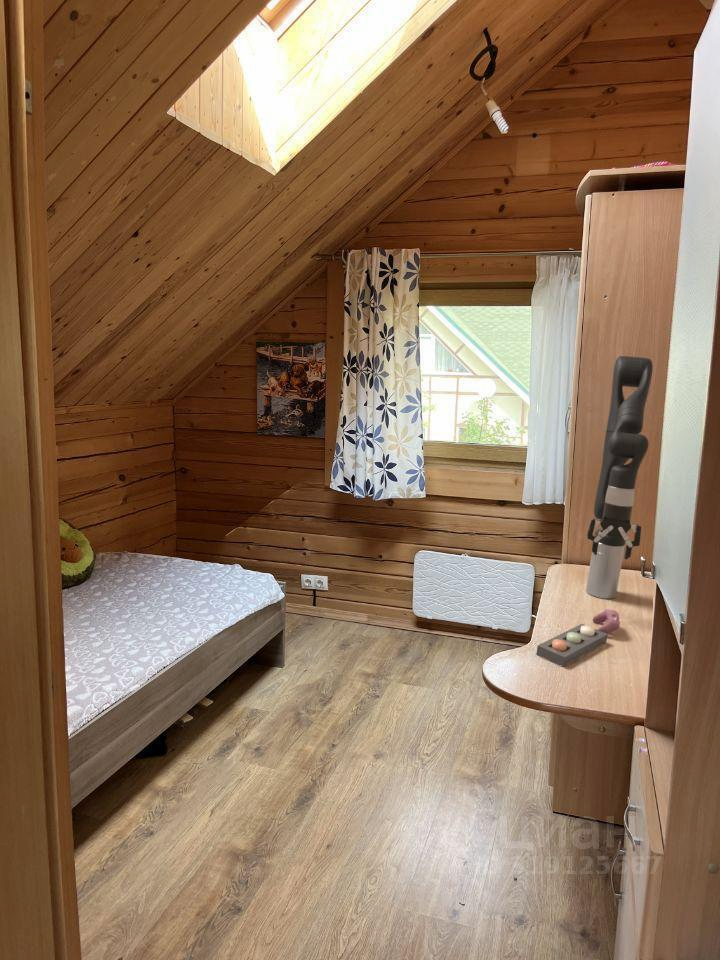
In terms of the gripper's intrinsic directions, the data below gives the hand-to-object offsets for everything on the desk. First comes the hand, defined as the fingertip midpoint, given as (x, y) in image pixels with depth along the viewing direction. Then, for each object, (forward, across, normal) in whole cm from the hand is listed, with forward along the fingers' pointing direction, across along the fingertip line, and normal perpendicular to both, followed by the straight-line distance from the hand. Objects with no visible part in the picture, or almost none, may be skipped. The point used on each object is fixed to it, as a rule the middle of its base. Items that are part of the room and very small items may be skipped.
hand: (610, 556), depth 199 cm
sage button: (+18, +9, +28) cm, 35 cm away
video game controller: (+18, 0, +12) cm, 22 cm away
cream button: (+17, +5, +22) cm, 29 cm away
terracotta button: (+18, +13, +34) cm, 41 cm away
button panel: (+19, +9, +28) cm, 35 cm away
